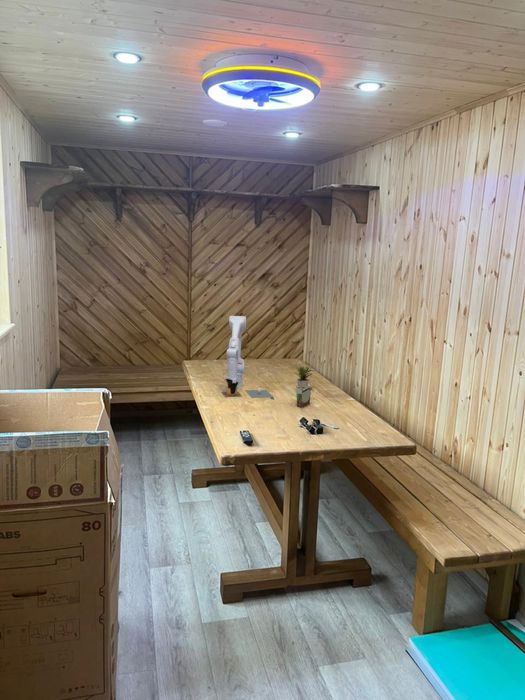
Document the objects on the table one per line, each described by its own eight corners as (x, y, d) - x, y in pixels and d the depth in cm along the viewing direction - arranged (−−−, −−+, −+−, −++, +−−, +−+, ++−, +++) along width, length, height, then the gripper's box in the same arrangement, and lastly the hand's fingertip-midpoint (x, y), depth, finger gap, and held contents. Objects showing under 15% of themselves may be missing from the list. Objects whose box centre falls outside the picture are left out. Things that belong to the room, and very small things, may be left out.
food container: (300, 402, 303) (301, 384, 301) (310, 404, 300) (311, 386, 298) (290, 406, 292) (291, 388, 291) (300, 408, 289) (301, 390, 287)
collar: (226, 393, 312) (226, 386, 311) (235, 393, 313) (235, 386, 312) (227, 395, 306) (227, 388, 306) (237, 395, 308) (237, 388, 307)
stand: (221, 394, 315) (221, 386, 314) (238, 393, 317) (238, 386, 316) (224, 399, 303) (224, 391, 302) (242, 398, 305) (242, 391, 305)
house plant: (311, 393, 322) (312, 366, 320) (288, 391, 327) (289, 364, 324) (316, 388, 336) (318, 362, 333) (295, 386, 340) (296, 360, 337)
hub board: (244, 392, 321) (245, 384, 320) (266, 391, 324) (266, 384, 323) (251, 400, 304) (251, 392, 303) (273, 399, 307) (274, 391, 306)
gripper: (223, 366, 313) (222, 389, 316) (227, 371, 299) (227, 395, 302) (235, 366, 315) (234, 389, 317) (240, 371, 301) (239, 395, 303)
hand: (231, 392), depth 310 cm, fingers closed on collar, 5 cm apart
